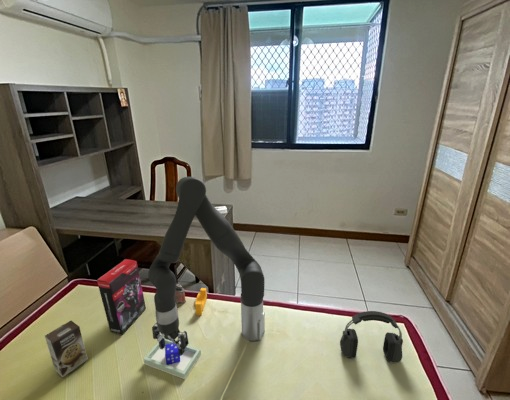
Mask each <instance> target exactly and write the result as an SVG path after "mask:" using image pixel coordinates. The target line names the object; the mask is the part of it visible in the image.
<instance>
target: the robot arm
mask: <svg viewBox="0 0 510 400" xmlns="http://www.w3.org/2000/svg"><path fill="white" fill-rule="evenodd" d="M206 192H207V188H206V184H205V183H204V182H203V180H201V179H199V178H197V177H193V176H184V177H181V178H180V179H178V181H177V182H176V186H175V194H176V196H177V197H178V202H177V207H176V211H175V214H174V216H173V219H172V220H171V223H170V225H169V227H168V229H167V230H166V231H165V232H166V233H165V235H164V238H163V240H162V243H161V246H160V249H159V252H158V254H157V255H156V256H155V258H154V260H153V261H152V263H151V265H150V267H149V269H148V274H147V278H148V281H149V282H150V283H151V284H152V285H153V287H155V290H156V292H155V293H154V296H153V297H154V298H153V301H154V307H155V319H156V322H155V324H154V325H153V326H152V327H151V330H152V331H151V332H152V338H153V340H156V341H157V343H158V342H159V347H160V349H163V348H164V347H165V339H167V340H170V341H172V342H173V344H174V345H177V347H178V351H179V356H181V355H183V353H184V352H185V348H186V346H187V345H188V346H189V343H190V342H189V338H188V332H187V331H186V330H184V331H183V332H182V331H181V330H180V329H179V328H180V327H179V326H180V320H179V319H180V318H179V312H178V307H177V303H176V300H175V291H176V284H177V277H176V275H175V273H174V272H173V271H172V270H171V269H170V265H172V264H176V263H177V262H178V261H179V259H180V256H181V254H182V251H183V248H184V245H185V242H186V239H187V236H188V233H189V230H190V227H191V225H192V223H193V220H194V218H195V217H196V219H197V221H198V222H199V224H200V227H202V229H203V230H204V232H205V234H206V235H207V237H208V238H209V240H210V241H211V242H212V243H213V245H214V246H215V247H216V248H217V250H219V252H220V253H222V254H223V255H225V256H227V257H228V258H229V259H230V260H231V262H232V263H233V264H234V266H235V268H236V270H237V272H238V273H239V278H240V317H241V320H240V321H241V334H242V338H244V339H246V341H249V342H250V341H251V342H255V341H261V340H262V338H263V335H264V333H265V331H266V330H265V328H266V327H265V326H266V324H265V323H266V321H265V320H266V319H265V316H266V315H265V312H264V296H265V275H264V273H263V272H264V271H263V270H262V266H261V265H260V264H259V262H258V261H257V260H256V259H255V258H254V257H253V256H252V255H251V254H250V252H249V251H248V250H247V249H246V247H245V245H244V244H243V241H242V240H241V238H240V237H239V235H238V233H237V231H236V230H235V229H234V227H233V226H232V225H231V223H230V222H229V221H228V219H226V217H225V216H224V215H223V214H222V213H221V212H220V211H219V210H218V209H217V208H216V207H215V206H214V205H213V204H212V202H211V201H210V200H209V197H208V196H207V193H206ZM163 337H164V338H165V339H164V338H163ZM179 343H181V344H179Z"/></svg>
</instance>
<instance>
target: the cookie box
mask: <svg viewBox="0 0 510 400" xmlns="http://www.w3.org/2000/svg"><path fill="white" fill-rule="evenodd" d="M81 332H82V331H81V328H80V325H78V324H77V323H76V322H74V321H73V320H69V321H67V322H65V323H64V324H62V325H61V326H59V327H57V328H56V329H54V330H52V331H50V332H49V333H47V334H45V335H44V338H45V341H46V344H47V348H48V351H49V355H50V358H51V362H52V365H53V369H54V370H55V371H56V372H57V373H58V375H59V376H60V377H62V378H64V377H65V376H67V375H68V374H69V373H71V372H72V371H75V369H77V368H78V367H79V366H81V365H82V364H84V363H85V362H87V361H88V355H87V350H86V347H85V344H84V343H85V342H84V339H83V336H82V335H83V334H82V333H81Z"/></svg>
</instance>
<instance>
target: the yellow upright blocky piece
mask: <svg viewBox="0 0 510 400" xmlns="http://www.w3.org/2000/svg"><path fill="white" fill-rule="evenodd" d="M207 294H208V292H207V287H201V288H200V291H199V292H198V294H197V296H196V299H195V302H194V306H195V316H202V315H203V313H202V312H203V311H204V309H205V306H206V302H207V298H208V295H207Z"/></svg>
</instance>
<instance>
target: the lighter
mask: <svg viewBox="0 0 510 400" xmlns="http://www.w3.org/2000/svg"><path fill="white" fill-rule="evenodd" d="M185 291H186V290H185V288H183V286H182V285H181V284H180V283H176V291H175V300H176V304H180V305H184V304H186V303H187V300H186V294H185Z"/></svg>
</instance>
